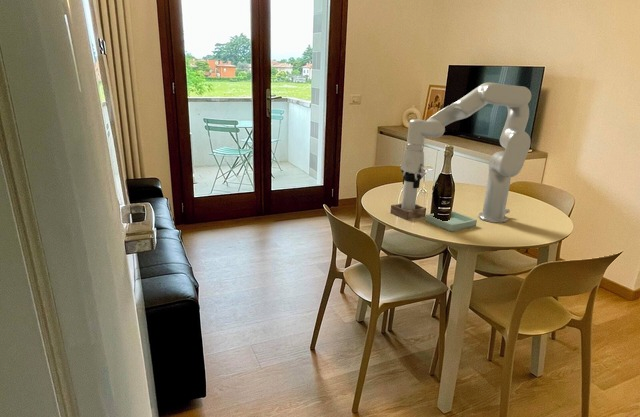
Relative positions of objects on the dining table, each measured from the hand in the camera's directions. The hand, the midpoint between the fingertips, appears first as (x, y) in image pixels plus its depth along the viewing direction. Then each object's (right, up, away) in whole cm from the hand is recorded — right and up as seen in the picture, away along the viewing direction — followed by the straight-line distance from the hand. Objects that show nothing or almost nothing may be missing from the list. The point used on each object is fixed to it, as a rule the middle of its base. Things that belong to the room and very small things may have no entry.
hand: (410, 185), depth 195 cm
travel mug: (-1, -14, +4) cm, 14 cm away
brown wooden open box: (-1, -13, +4) cm, 14 cm away
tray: (+17, -17, -6) cm, 25 cm away
